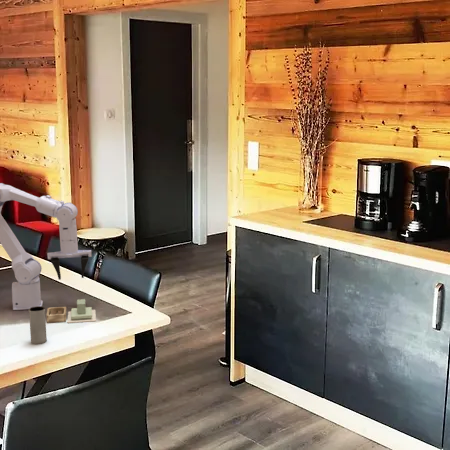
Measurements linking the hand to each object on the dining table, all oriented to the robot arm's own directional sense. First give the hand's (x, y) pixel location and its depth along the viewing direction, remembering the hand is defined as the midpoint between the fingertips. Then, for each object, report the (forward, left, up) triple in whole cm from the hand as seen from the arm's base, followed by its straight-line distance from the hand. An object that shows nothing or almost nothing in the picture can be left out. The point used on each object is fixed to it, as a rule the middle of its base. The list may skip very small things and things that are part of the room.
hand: (71, 278), depth 230 cm
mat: (+3, -11, -10) cm, 15 cm away
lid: (+3, -11, -10) cm, 15 cm away
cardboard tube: (-9, -31, -11) cm, 34 cm away
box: (-5, -11, -10) cm, 16 cm away
